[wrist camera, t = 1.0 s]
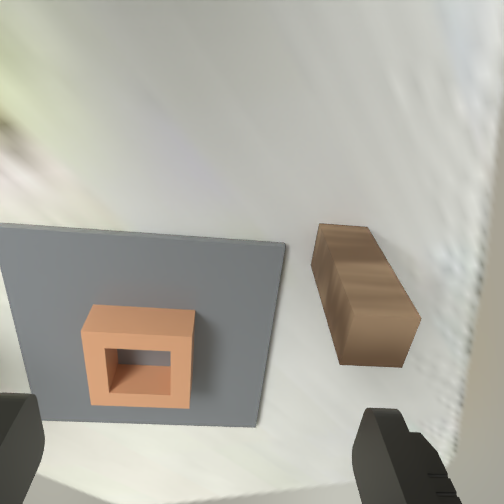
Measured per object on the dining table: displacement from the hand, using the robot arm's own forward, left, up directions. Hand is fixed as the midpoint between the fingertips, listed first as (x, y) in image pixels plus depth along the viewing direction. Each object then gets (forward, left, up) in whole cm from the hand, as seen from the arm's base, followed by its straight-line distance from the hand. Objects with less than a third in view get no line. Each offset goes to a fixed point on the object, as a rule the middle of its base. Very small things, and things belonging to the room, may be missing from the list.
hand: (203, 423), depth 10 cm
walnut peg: (+6, +9, -19) cm, 22 cm away
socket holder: (+16, -5, -19) cm, 25 cm away
